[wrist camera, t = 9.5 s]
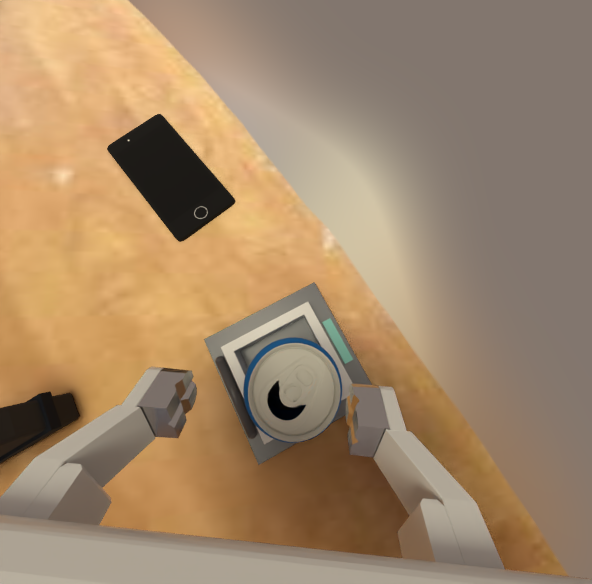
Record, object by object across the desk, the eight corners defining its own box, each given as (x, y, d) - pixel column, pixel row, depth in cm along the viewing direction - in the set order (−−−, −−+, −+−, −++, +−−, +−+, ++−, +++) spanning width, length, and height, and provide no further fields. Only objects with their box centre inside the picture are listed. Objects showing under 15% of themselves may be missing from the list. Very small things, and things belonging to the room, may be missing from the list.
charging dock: (376, 394, 27) (386, 401, 24) (260, 461, 26) (254, 477, 23) (314, 284, 30) (315, 276, 27) (206, 339, 29) (194, 338, 26)
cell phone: (181, 244, 32) (178, 241, 31) (110, 152, 35) (104, 146, 34) (237, 204, 33) (235, 199, 32) (162, 117, 36) (159, 111, 35)
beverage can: (243, 379, 26) (217, 398, 15) (283, 331, 28) (288, 315, 16) (290, 421, 26) (301, 476, 14) (329, 370, 27) (368, 382, 16)
